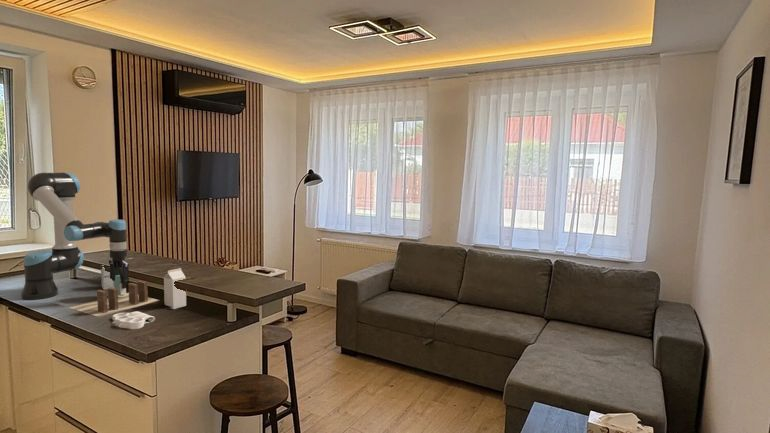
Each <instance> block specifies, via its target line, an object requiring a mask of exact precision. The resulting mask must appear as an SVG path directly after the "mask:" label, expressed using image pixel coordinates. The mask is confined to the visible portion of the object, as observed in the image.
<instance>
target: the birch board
mask: <svg viewBox="0 0 770 433" xmlns="http://www.w3.org/2000/svg"><path fill="white" fill-rule="evenodd" d="M159 301H160V299H156V298H152V297H149V296H148V301H147V302H143V301H139V294H138V304H136V305H135V304H131V303H129V292H126V294H124V295H123V296H119V295H118V309H117V310H113V309H109V301H108V297H107V306H108V312H106V313H102V312H99V311H98V301H97V299H96V300H92V301H88V302H84V303H81V304H76V305H72V306H71V305H70V306H68V307H67V308H68V309H71V310H74V311H78V312H81V313H84V314H88V315H91V316H95V317H97V318H102V317H105V316H108V315H112V314H117V313H121V312H123V311H126V310H130V309H133V308H138V307H141V306H145V305H148V304H152V303H156V302H159Z"/></svg>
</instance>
